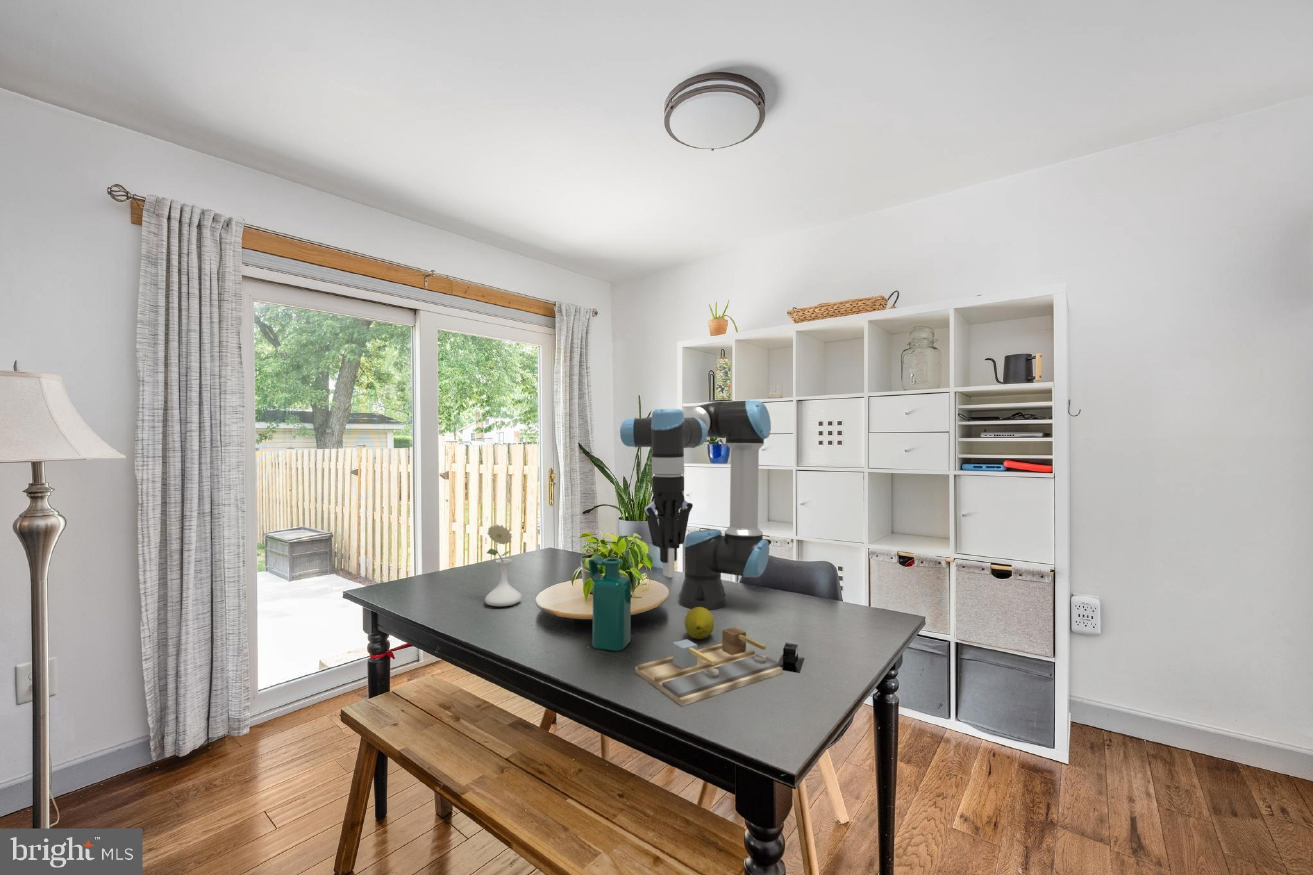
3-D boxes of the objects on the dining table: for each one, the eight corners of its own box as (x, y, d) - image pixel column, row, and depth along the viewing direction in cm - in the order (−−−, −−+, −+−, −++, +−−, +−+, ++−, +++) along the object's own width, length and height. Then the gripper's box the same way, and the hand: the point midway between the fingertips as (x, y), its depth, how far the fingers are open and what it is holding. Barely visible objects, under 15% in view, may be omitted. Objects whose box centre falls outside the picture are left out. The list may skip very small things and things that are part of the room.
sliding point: (686, 659, 127) (686, 639, 126) (720, 679, 116) (721, 657, 116) (672, 663, 124) (672, 642, 124) (706, 684, 114) (706, 661, 114)
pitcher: (632, 640, 142) (633, 556, 142) (621, 652, 134) (622, 563, 134) (597, 636, 144) (598, 553, 144) (585, 648, 136) (585, 560, 136)
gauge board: (729, 647, 138) (730, 622, 138) (782, 673, 123) (782, 645, 123) (635, 672, 122) (635, 645, 122) (681, 706, 107) (682, 674, 107)
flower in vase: (529, 602, 174) (530, 524, 174) (501, 612, 164) (502, 529, 164) (501, 595, 180) (501, 520, 180) (473, 604, 171) (473, 525, 171)
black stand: (780, 653, 135) (780, 635, 135) (810, 658, 133) (810, 639, 133) (770, 673, 124) (770, 653, 124) (803, 678, 121) (803, 658, 121)
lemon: (689, 629, 150) (689, 601, 150) (717, 633, 148) (717, 603, 148) (679, 644, 140) (679, 613, 140) (708, 647, 137) (709, 616, 137)
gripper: (681, 472, 133) (681, 567, 134) (635, 475, 126) (636, 576, 126) (700, 474, 127) (700, 574, 127) (653, 478, 120) (654, 584, 120)
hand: (668, 575), depth 127 cm, fingers closed
